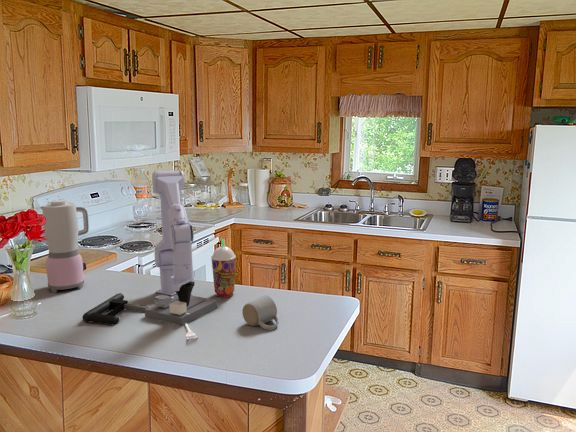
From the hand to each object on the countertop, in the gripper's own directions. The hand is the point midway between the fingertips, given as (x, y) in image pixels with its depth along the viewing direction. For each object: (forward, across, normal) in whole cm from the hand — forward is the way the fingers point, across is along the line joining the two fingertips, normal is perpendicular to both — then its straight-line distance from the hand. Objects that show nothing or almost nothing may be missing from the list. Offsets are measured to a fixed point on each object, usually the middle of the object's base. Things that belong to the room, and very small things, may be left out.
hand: (184, 306), depth 159 cm
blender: (+4, -24, -52) cm, 57 cm away
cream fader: (+1, +3, -1) cm, 3 cm away
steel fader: (+1, -2, -8) cm, 8 cm away
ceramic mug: (+4, +2, +25) cm, 25 cm away
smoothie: (+4, -22, +6) cm, 23 cm away
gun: (+4, -1, -22) cm, 23 cm away
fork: (+4, +8, +4) cm, 10 cm away
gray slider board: (+4, -4, -3) cm, 6 cm away
